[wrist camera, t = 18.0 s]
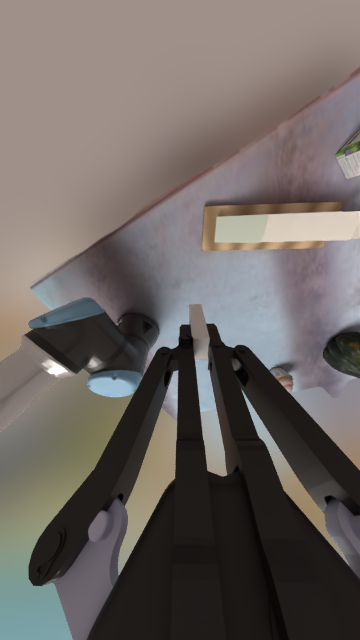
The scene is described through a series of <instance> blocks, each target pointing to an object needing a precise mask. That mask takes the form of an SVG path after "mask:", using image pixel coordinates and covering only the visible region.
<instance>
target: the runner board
mask: <svg viewBox="0 0 360 640" xmlns="http://www.w3.org/2000/svg"><path fill="white" fill-rule="evenodd" d="M343 203H344V202H315V203H287V204H258V205H229V206H205V207H204V218H203V236H202V251H219V250H259V249H299V248H323V245H324V243H325V241H284V242H261V243H221V242H214V240H215V230H216V220H217V217H222V216H243V215H264V214H268V215H269V214H289V213H293V214H296V213H315V212H317V213H319V212H340V209H341V207H342V205H343Z"/></svg>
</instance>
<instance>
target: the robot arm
mask: <svg viewBox="0 0 360 640" xmlns="http://www.w3.org/2000/svg"><path fill="white" fill-rule="evenodd" d="M29 327H30V328H31V329H33V330H31V331H30V332H28V333H27V334H25V335H23V336H22V342H21V347H20V348H19V350H17V351H16V352H14V353H13V354H11V355H10V356H8V357H7V358H5V359H4V360H2V361H1V362H0V432H1V431H2V430H3V429H4V428H6V427H7V426H8V425H9V424H10V423H11V422H12V421H13V420H15V419H16V418H17V417H18V416H19V415H20V414H21V413H22V412H23V411H25V410H26V409H27V408H28V407H29V406H30V405H31V404H32V403H34V402H35V401H36V400H37V399H38V398H39V397H40V396H41V395H43V394H44V393H45V392H46V391H47V390H48V389H49V388H50V387H51V386H53V384H55V383H56V382H57V381H58V380H59V379H61V378H63V377H68V376H75V375H76V374H77V373H78V372H79V371H80V370H81V369H85V370H86V371H87V372H88V373H90V374H91V376H89V378H88V381H87V385H88V388H89V389H90V390H92V391H93V392H95V393H97V394H100V395H103V396H108V397H124V396H128V395H130V394H132V393H134V392H135V393H134V395H133V397H132V399H131V401H130V403H129V405H128V407H127V409H126V410H125V413H124V414H123V416H122V418H121V420H120V422H119V424H118V425H117V427H116V429H115V431H114V433H113V435H112V437H111V439H110V441H109V442H108V444H107V446H106V448H105V450H104V452H103V454H102V456H101V458H100V460H99V461H98V463H97V465H96V467H95V469H94V470H93V471H92V472H91V474H90V475H89V476H88V477H87V479H86V480H85V481H84V482H83V483H82V485H81V486H80V487H79V488H78V490H77V491H76V492H75V493H74V494H73V496H72V497H71V498H70V499H69V500H68V502H67V503H66V504H65V505H64V507H63V508H62V509H61V510H60V511H59V513H58V514H57V515H56V516H55V517H54V519H53V520H52V521H51V522H50V524H49V525H48V526H47V527H46V529H45V530H44V532H43V533H42V535H41V536H40V538H39V539H38V541H37V543H36V546H35V548H34V550H33V552H32V555H31V559H30V563H29V580H30V581H31V583H32V584H33V586H43V585H46V584H49V583H54V584H55V586H56V589H57V592H58V595H59V598H60V601H61V604H62V607H63V610H64V613H65V616H66V619H67V622H68V625H69V628H70V631H71V634H72V638H73V640H360V470H359V469H358V468H357V467H356V466H355V465H354V464H353V463H352V462H351V461H350V459H349V458H348V457H347V456H346V455H345V454H344V453H343V452H342V451H341V450H340V448H339V447H338V446H337V445H336V444H335V443H334V442H333V441H332V439H331V438H330V437H329V436H328V435H327V434H326V433H325V432H324V431H323V430H322V428H321V427H320V426H319V425H318V424H317V423H316V422H315V421H314V420H313V418H312V417H311V416H310V415H309V414H308V413H307V412H306V411H305V410H304V409H303V407H301V405H300V404H299V403H298V402H297V401H296V400H295V399H294V397H293V396H292V395H291V394H290V393H289V392H288V391H287V390H286V389H285V388H284V386H283V385H282V384H281V383H280V382H279V381H278V380H277V379H276V378H275V376H274V375H273V374H272V373H271V372H270V371H269V370H268V369H267V368H266V367H265V365H264V364H263V363H262V362H261V361H260V360H259V359H258V358H257V357H256V355H255V354H254V353H253V352H252V351H251V350H250V349H249V348H248V347H246V346H244V345H237V346H236V347H235V348H232V347H228V346H226V345H225V344H224V343H223V342H222V341H221V338H220V335H219V333H218V330H217V327H216V326H215V325H214V324H206V322H205V318H204V314H203V310H202V306H201V304H193V305H189V325H181V326H180V337H179V345H178V346H177V347H176V348H174V349H170V348H168V347H161V348H159V349H158V350H157V352H156V354H155V356H154V357H153V359H152V361H151V363H150V365H149V367H148V369H147V371H146V373H145V374H144V376H143V378H142V375H143V371H144V368H145V364H146V360H147V356H148V352H149V350H150V349H151V348H152V346H153V345H154V344H155V343H156V341H157V338H158V328H157V325H156V324H155V322H154V321H153V320H152V319H150V318H149V317H147V316H145V315H142V314H138V313H131V314H127V315H125V316H123V317H122V318H121V319H120V320H119V321H118V323H117V324H115V323H114V322H113V321H112V319H111V318H110V317H109V316H108V315H107V313H106V311H105V310H103V309H102V308H101V307H100V306H99V305H98V304H97V302H96V301H95V300H93V299H91V298H81V299H78V300H76V301H73V302H71V303H68V304H66V305H64V306H61V307H59V308H57V309H54V310H52V311H50V312H48V313H46V314H43V315H41V316H39V317H37V318H35V319H33V320H31V321H29ZM208 359H209V362H208V370H209V371H210V376H211V381H212V386H213V392H214V397H215V402H216V408H217V412H218V418H219V423H220V428H221V434H222V439H223V444H224V450H225V458H226V459H225V461H226V469H227V476H224V477H222V476H219V475H217V474H214V473H211V472H209V471H207V464H206V455H205V446H204V440H203V436H202V426H201V416H200V406H199V396H198V386H197V376H196V366H195V360H208ZM177 370H178V415H177V441H176V472H175V479H174V480H173V481H172V482H171V483H170V484H169V485H168V487H167V488H166V489H165V491H164V493H163V495H162V497H161V498H160V500H159V502H158V504H157V506H156V508H155V510H154V512H153V513H152V515H151V517H150V519H149V521H148V523H147V525H146V527H145V528H144V530H143V532H142V534H141V536H140V538H139V540H138V541H137V543H136V545H135V547H134V549H133V551H132V553H131V555H130V556H129V558H128V560H127V562H126V564H125V566H124V568H123V570H122V572H121V573H120V575H119V576H118V556H119V551H120V547H121V545H122V542H123V539H124V536H125V534H126V529H127V524H128V515H127V511H126V508H125V504H126V503H127V501H128V498H129V496H130V494H131V492H132V490H133V487H134V485H135V482H136V480H137V477H138V474H139V471H140V468H141V465H142V463H143V460H144V457H145V454H146V451H147V448H148V445H149V442H150V439H151V436H152V433H153V430H154V427H155V424H156V421H157V419H158V416H159V412H160V409H161V407H162V404H163V401H164V398H165V395H166V392H167V389H168V386H169V383H170V380H171V377H172V375H173V371H177ZM141 379H142V380H141ZM140 381H141V382H140ZM241 389H242V390H243V392H244V393H245V395H246V396H247V398H248V400H249V401H250V403H251V404H252V406H253V408H254V409H255V411H256V412H257V414H258V415H259V417H260V419H261V420H262V421H263V423H264V425H265V427H266V428H267V430H268V431H269V433H270V434H271V436H272V438H273V439H274V441H275V443H276V444H277V446H278V447H279V449H280V451H281V452H282V454H283V455H284V457H285V458H286V460H287V462H288V463H289V465H290V466H291V468H292V470H293V471H294V473H295V474H296V476H297V478H298V479H299V481H300V482H301V483H302V485H303V486H304V488H305V489H306V491H307V492H308V494H309V495H310V496H311V497H312V499H313V500H314V501H315V503H316V504H317V505H318V507H319V508H320V509H321V510H322V511H323V512H324V514H325V521H326V528H327V531H328V533H329V535H330V537H331V538H332V539H333V540H334V541H335V542H336V543H337V544H338V546H339V548H340V549H341V551H342V552H343V554H344V555H345V558H346V560H347V561H348V563H349V566H350V567H349V566H348V564H347V563H346V562H345V561H344V560H343V559H342V557H341V556H340V555H339V554H338V553H337V552H336V550H335V549H334V548H333V547H332V546H331V545H330V544H329V542H328V541H327V540H326V539H325V538H324V537H323V535H322V534H321V533H320V532H319V531H318V530H317V528H316V527H315V526H314V525H313V524H312V522H311V521H310V520H309V519H308V518H307V517H306V515H305V514H304V513H303V512H302V511H301V510H300V509H299V507H298V506H297V505H296V504H295V503H294V502H293V500H292V499H291V498H290V497H289V496H288V495H287V494H286V492H285V491H284V490H283V487H282V485H281V482H280V480H279V477H278V475H277V472H276V469H275V467H274V464H273V461H272V459H271V456H270V454H269V451H268V449H267V447H266V445H265V443H264V442H263V441H262V440H261V439H260V438H259V436H258V434H257V432H256V429H255V426H254V423H253V421H252V418H251V415H250V412H249V410H248V407H247V404H246V401H245V399H244V396H243V393H242V390H241Z"/></svg>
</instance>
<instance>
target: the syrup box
mask: <svg viewBox="0 0 360 640" xmlns="http://www.w3.org/2000/svg"><path fill="white" fill-rule="evenodd" d="M336 158H337V161H338V163H339V165H340V167H341V169H342V171H343V173H344V175H345V177H346V179H349V178H353V177H356V176H360V130H359V131H358V132H357V133H356V134H355V135H354V136H353V137H352V138H351V139H350V140H349V141H348V143H347V144H346V145H345V146H344V147H343V148H342V149H341V150H340V151H339V152H338V153H337V154H336Z"/></svg>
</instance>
